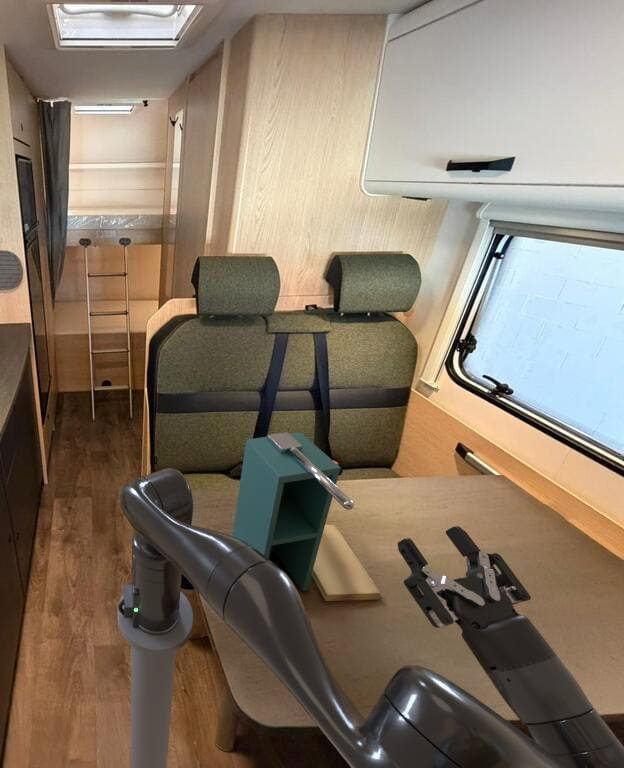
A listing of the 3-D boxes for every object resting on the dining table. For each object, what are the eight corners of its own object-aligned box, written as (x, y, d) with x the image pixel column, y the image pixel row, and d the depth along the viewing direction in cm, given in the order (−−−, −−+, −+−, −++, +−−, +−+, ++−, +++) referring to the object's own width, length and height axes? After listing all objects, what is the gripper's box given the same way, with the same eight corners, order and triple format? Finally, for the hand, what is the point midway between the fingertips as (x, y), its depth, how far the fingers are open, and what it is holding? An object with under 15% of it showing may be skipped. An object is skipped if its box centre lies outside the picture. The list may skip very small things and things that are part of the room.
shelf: (229, 555, 97) (246, 439, 83) (276, 546, 99) (300, 432, 85) (255, 601, 87) (279, 477, 73) (307, 590, 89) (340, 467, 75)
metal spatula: (266, 439, 83) (267, 433, 82) (286, 437, 84) (288, 430, 83) (337, 514, 64) (340, 506, 64) (362, 509, 65) (365, 501, 64)
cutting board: (325, 601, 86) (327, 594, 85) (288, 531, 103) (289, 525, 103) (378, 599, 86) (380, 592, 86) (332, 530, 104) (334, 524, 103)
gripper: (596, 646, 48) (486, 513, 58) (501, 680, 45) (402, 534, 55) (540, 656, 54) (448, 533, 64) (452, 687, 51) (370, 553, 61)
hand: (427, 534), depth 60 cm, fingers open, 8 cm apart
